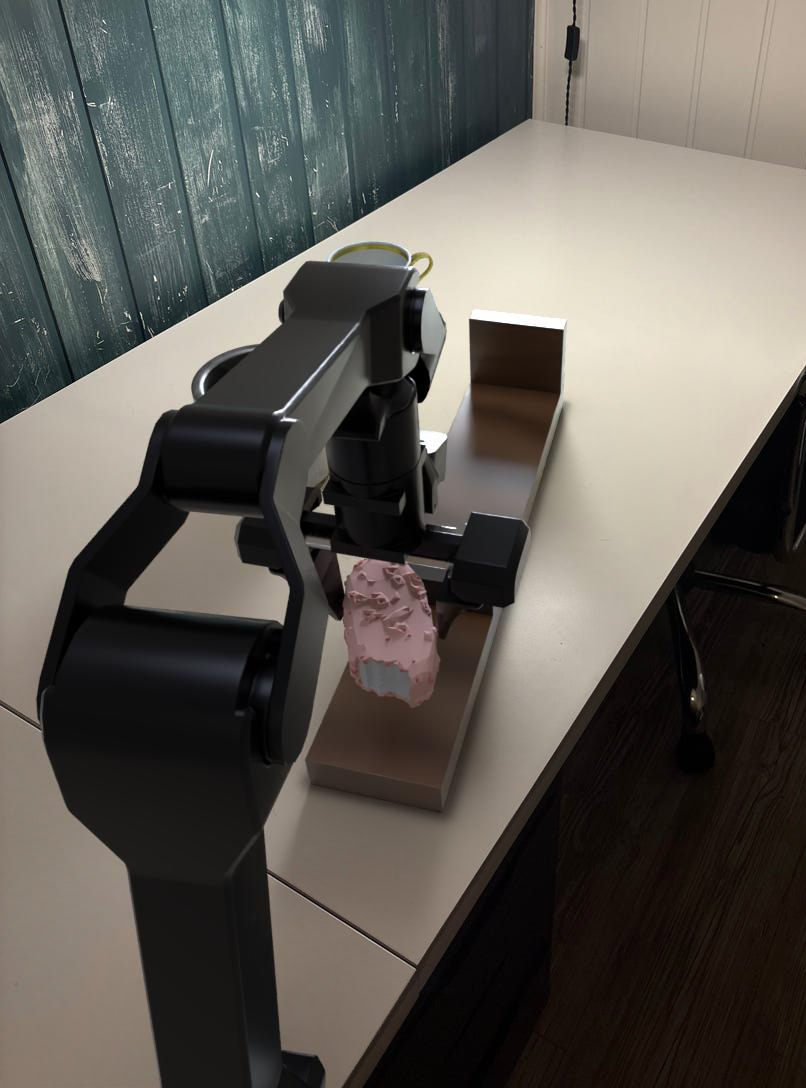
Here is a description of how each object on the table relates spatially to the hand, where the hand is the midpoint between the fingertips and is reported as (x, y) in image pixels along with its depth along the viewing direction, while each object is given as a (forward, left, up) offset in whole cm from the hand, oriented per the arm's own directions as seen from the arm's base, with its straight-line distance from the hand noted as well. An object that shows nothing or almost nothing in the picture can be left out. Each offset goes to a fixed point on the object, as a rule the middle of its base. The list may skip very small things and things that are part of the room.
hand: (392, 625), depth 67 cm
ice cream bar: (0, 0, -1) cm, 1 cm away
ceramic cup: (+54, +19, -10) cm, 58 cm away
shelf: (+18, 0, -10) cm, 20 cm away
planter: (+26, +22, -10) cm, 35 cm away
